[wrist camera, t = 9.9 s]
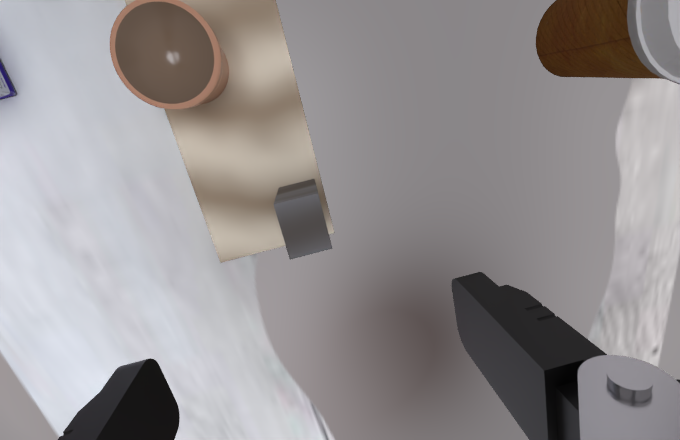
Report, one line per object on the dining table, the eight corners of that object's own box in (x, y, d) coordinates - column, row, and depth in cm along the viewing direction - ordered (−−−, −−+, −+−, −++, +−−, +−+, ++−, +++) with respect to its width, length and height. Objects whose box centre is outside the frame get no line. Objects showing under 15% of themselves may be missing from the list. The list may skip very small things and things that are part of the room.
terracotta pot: (136, 33, 25) (91, 8, 19) (220, 13, 25) (198, -16, 19) (168, 119, 26) (134, 119, 21) (246, 100, 27) (233, 96, 21)
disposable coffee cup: (633, -33, 28) (862, -138, 17) (615, 93, 31) (802, 77, 19) (520, -28, 27) (679, -135, 16) (512, 100, 30) (643, 88, 19)
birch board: (108, -60, 24) (33, -129, 17) (252, -91, 24) (234, -172, 18) (223, 258, 31) (201, 296, 24) (333, 229, 31) (342, 259, 25)
